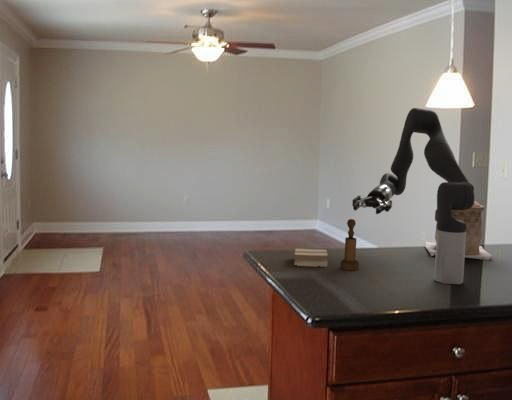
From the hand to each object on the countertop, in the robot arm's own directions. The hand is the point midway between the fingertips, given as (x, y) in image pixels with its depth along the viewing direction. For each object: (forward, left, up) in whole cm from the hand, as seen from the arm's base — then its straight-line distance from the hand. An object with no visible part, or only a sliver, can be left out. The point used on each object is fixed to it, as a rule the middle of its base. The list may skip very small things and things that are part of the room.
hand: (365, 209), depth 215 cm
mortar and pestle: (-8, +6, -21) cm, 23 cm away
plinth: (-1, +20, -21) cm, 29 cm away
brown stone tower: (+29, -41, -21) cm, 55 cm away
